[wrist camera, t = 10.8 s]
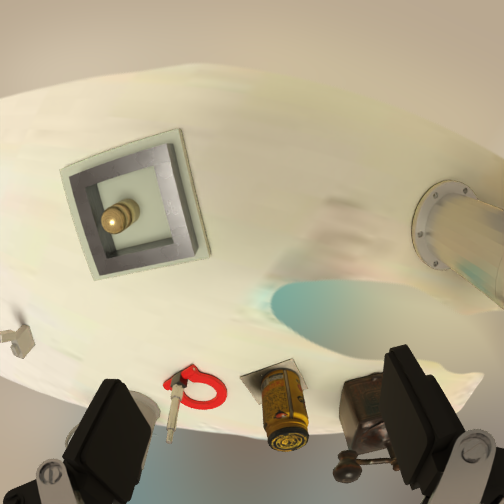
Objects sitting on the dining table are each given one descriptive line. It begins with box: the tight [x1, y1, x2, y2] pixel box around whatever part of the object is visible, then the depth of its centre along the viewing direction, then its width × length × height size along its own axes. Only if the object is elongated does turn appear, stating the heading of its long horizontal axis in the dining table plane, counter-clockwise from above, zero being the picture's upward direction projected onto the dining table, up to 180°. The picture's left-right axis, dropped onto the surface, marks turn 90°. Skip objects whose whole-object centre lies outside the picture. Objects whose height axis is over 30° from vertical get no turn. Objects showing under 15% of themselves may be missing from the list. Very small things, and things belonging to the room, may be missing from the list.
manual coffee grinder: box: [333, 373, 400, 483], centre depth 38 cm, size 16×11×18 cm
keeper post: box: [101, 199, 140, 234], centre depth 30 cm, size 3×3×6 cm
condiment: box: [240, 359, 309, 452], centre depth 38 cm, size 7×8×12 cm
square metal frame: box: [69, 143, 199, 276], centre depth 31 cm, size 12×12×3 cm
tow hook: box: [163, 365, 227, 444], centre depth 39 cm, size 8×13×9 cm
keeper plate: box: [60, 129, 211, 281], centre depth 34 cm, size 16×15×2 cm
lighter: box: [0, 325, 35, 359], centre depth 37 cm, size 7×2×8 cm, turn 176°
